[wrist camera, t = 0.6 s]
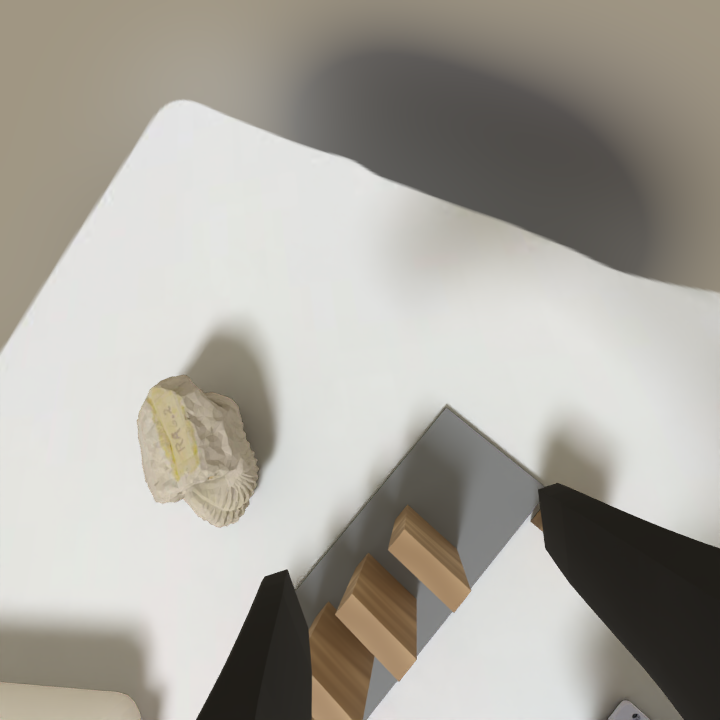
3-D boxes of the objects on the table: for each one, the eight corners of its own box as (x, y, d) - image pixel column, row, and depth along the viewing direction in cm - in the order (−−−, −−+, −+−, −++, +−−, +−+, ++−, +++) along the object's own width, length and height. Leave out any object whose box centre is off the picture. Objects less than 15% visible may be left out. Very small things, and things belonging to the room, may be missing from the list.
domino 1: (328, 601, 31) (298, 659, 23) (375, 650, 29) (360, 729, 22) (315, 617, 31) (281, 680, 23) (362, 666, 29) (342, 752, 22)
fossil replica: (227, 541, 33) (302, 451, 35) (180, 575, 25) (281, 456, 26) (133, 450, 35) (208, 368, 36) (61, 455, 27) (161, 349, 28)
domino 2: (368, 552, 31) (351, 593, 23) (416, 599, 30) (416, 659, 22) (355, 568, 31) (334, 614, 23) (403, 615, 30) (398, 681, 22)
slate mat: (547, 489, 30) (548, 490, 30) (318, 776, 29) (317, 781, 28) (446, 407, 32) (446, 407, 32) (229, 670, 31) (227, 673, 31)
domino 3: (407, 504, 31) (404, 529, 23) (457, 549, 30) (471, 590, 22) (395, 519, 31) (387, 549, 23) (444, 565, 30) (453, 612, 22)
